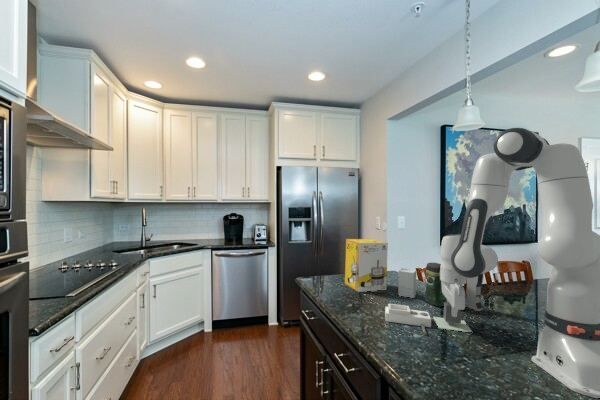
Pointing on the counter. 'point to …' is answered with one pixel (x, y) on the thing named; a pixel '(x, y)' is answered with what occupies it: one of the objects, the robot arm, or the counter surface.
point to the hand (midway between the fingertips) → (452, 313)
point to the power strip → (407, 316)
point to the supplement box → (407, 283)
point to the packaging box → (366, 264)
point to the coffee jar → (434, 285)
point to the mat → (452, 325)
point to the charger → (448, 316)
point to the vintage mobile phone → (474, 292)
